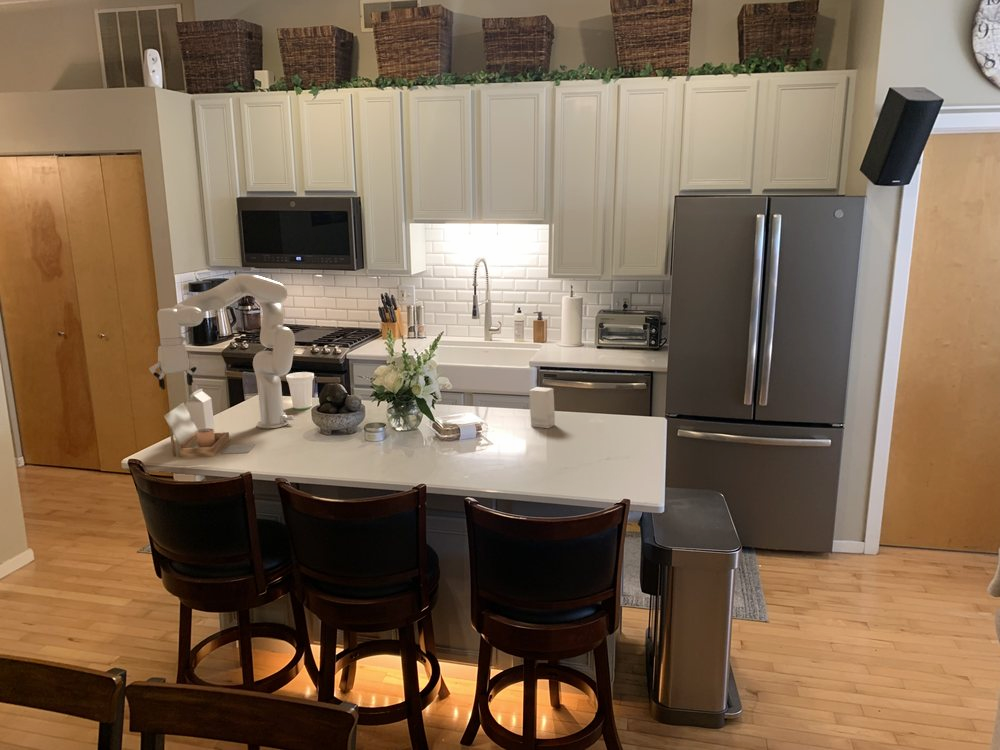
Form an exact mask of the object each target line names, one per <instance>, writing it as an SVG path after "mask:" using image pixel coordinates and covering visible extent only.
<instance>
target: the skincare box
mask: <svg viewBox="0 0 1000 750" xmlns="http://www.w3.org/2000/svg"><path fill="white" fill-rule="evenodd" d="M528 391H529V393H528V394H529V412H530V413H529V414H530V427H533V428H540V429H550V428H551V427H554V426H555V425H556V419H555V416H556V414H555V412H556V411H555V394H554V392H555V391H554V388H552V387H544V386H543V387H540V386H536V387H534V388H531V389H529V390H528Z"/></svg>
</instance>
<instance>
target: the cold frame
mask: <svg viewBox="0 0 1000 750" xmlns="http://www.w3.org/2000/svg"><path fill="white" fill-rule="evenodd" d="M163 417H164V419H165V421H166V423H167V425H168V427H169V435H170V442H171V443H170V445H171V452H172V457H176V456H177V454H176V447H175V440H176V442H177V444H178V446H180V448H179V455H180V458H194V457H195V458H197V457H214V456H215V455H216V454H217V453H219V451H221V449H222V448H223V447H224V446H225V445H226V444H227V443H228V442H229V441H230V432H225V431H223V432H215V433H214V437H215V444H214V445H213V446H212V447H201V448H199V446H198V437H197V431H198V430H197V428H196V426H195V424H194V422H193V420H192V418H191V416H190V414H189V412H188V410H187V407H186V403H185V402H182V403H180V404H178V405H177V406H175V407H174V408H173V409H171V410H170V411H168V413H166V414H164V415H163ZM174 438H175V439H174Z"/></svg>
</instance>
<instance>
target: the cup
mask: <svg viewBox="0 0 1000 750" xmlns="http://www.w3.org/2000/svg"><path fill="white" fill-rule="evenodd" d="M285 378H286V379H285V380H286V381H287V383H288V387H289V391H290V398H291V403H292V407H293V409H294V410H297V411H298V410H308V409H311V408H313V403H312V402H313V380H314V378H315V373H314V372H310V371H309V372H308V371H301V372H300V371H299V372H293V373H287V374H286V375H285Z"/></svg>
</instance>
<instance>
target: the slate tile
mask: <svg viewBox="0 0 1000 750" xmlns="http://www.w3.org/2000/svg"><path fill="white" fill-rule="evenodd" d="M255 446H256V444H255V443H253V444H249V443H248V444H230V445H229V444H228V445H227V446H226V447H225V449H223V451H222V452H220V454H221V455H229V454H232V455H233V454H249V453H250V452H251V450H252V449H253V448H254V447H255Z"/></svg>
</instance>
